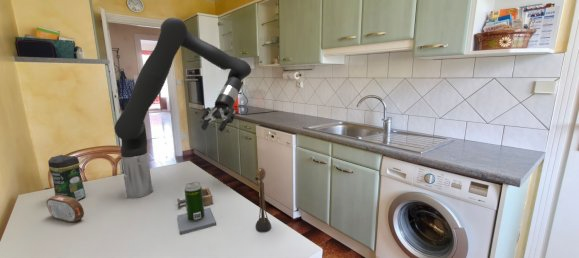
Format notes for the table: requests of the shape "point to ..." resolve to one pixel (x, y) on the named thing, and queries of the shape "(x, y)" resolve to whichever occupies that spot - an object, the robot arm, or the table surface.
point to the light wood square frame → (206, 198)
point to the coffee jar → (67, 176)
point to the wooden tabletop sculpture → (262, 204)
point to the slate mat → (188, 226)
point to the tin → (65, 208)
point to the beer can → (194, 201)
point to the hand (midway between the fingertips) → (211, 129)
